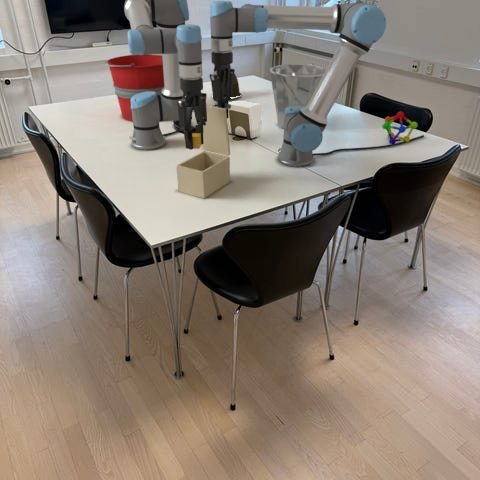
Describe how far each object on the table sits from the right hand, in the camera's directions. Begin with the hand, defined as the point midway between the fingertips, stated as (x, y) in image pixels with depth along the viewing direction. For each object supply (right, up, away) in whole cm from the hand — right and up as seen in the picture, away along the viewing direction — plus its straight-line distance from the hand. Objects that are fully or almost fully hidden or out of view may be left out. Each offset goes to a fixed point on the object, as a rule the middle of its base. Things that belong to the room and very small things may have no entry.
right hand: (223, 118), depth 166 cm
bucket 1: (-47, +24, +81) cm, 97 cm away
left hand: (-10, -12, -10) cm, 19 cm away
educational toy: (+80, 0, +44) cm, 92 cm away
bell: (-2, +45, +115) cm, 123 cm away
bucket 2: (+36, +15, +67) cm, 77 cm away
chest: (-7, -25, +2) cm, 26 cm away
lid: (-4, -6, -3) cm, 7 cm away
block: (-10, -13, -10) cm, 19 cm away
